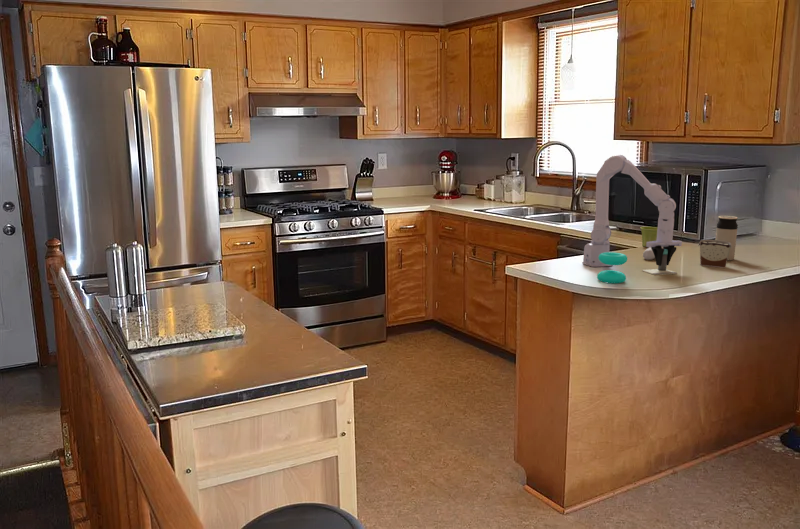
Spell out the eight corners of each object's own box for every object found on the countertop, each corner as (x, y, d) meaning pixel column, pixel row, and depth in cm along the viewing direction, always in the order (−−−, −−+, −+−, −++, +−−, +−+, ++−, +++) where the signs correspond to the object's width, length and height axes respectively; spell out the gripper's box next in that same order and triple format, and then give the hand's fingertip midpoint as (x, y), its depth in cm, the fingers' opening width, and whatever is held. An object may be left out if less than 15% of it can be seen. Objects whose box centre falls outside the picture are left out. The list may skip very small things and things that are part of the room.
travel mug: (735, 261, 299) (739, 218, 296) (714, 259, 302) (718, 217, 298) (732, 257, 307) (737, 216, 303) (712, 256, 309) (716, 215, 306)
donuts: (600, 250, 263) (628, 252, 259) (598, 277, 265) (626, 279, 261) (597, 255, 253) (626, 257, 250) (595, 282, 255) (624, 285, 252)
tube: (656, 252, 296) (671, 244, 316) (644, 247, 299) (660, 239, 319) (650, 263, 298) (666, 254, 318) (638, 258, 301) (655, 249, 321)
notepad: (654, 275, 269) (654, 273, 269) (641, 270, 277) (642, 269, 277) (677, 273, 272) (677, 272, 272) (664, 269, 280) (664, 268, 280)
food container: (731, 265, 290) (733, 241, 288) (729, 268, 284) (732, 243, 282) (698, 262, 296) (701, 238, 294) (696, 264, 290) (698, 240, 288)
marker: (661, 270, 275) (662, 250, 273) (655, 269, 278) (657, 249, 276) (668, 270, 276) (669, 250, 274) (663, 269, 279) (664, 248, 277)
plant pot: (657, 245, 337) (659, 227, 335) (662, 248, 328) (663, 229, 326) (637, 244, 338) (638, 226, 337) (640, 247, 329) (642, 229, 327)
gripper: (655, 232, 268) (652, 267, 271) (688, 231, 272) (685, 266, 275) (644, 229, 275) (641, 264, 277) (676, 228, 279) (673, 262, 281)
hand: (662, 264), depth 277 cm, fingers closed on marker, 3 cm apart
